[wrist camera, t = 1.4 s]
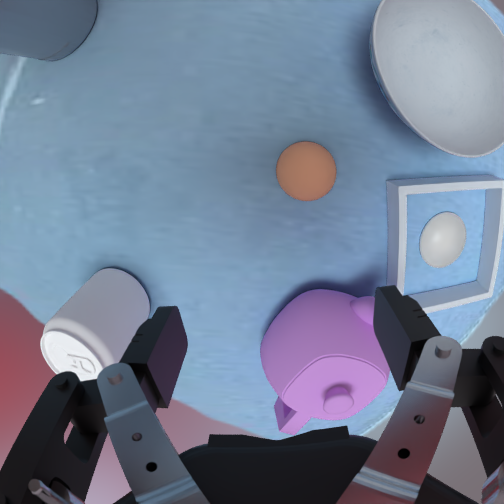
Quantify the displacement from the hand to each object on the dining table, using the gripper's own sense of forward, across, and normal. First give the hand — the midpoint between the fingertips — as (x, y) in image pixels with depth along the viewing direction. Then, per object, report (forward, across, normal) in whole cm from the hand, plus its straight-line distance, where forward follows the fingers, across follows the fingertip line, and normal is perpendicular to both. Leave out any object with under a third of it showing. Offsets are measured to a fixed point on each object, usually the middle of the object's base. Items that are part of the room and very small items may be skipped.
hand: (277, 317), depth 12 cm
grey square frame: (+18, -18, +5) cm, 26 cm away
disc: (+18, -18, +5) cm, 26 cm away
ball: (+18, -3, -3) cm, 18 cm away
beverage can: (+18, +18, +8) cm, 27 cm away
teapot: (+18, -5, +15) cm, 24 cm away
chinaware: (+18, -16, -12) cm, 27 cm away
